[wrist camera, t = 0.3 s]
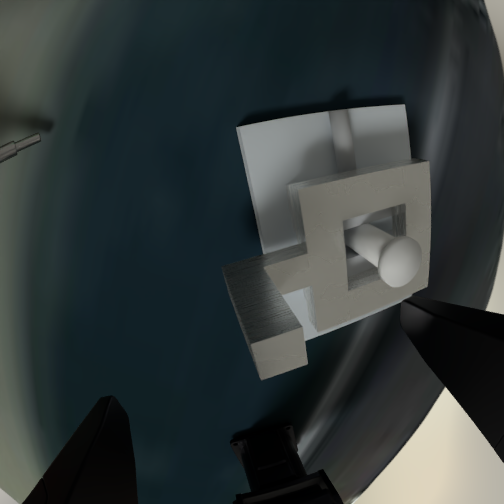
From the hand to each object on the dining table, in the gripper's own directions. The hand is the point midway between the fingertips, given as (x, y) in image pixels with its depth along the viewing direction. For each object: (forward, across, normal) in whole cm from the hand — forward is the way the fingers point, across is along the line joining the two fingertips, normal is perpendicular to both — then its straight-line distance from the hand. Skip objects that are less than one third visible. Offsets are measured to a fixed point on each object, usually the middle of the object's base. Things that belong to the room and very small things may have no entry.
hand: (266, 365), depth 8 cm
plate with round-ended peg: (+12, -9, +2) cm, 15 cm away
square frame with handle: (+10, -9, +2) cm, 13 cm away
